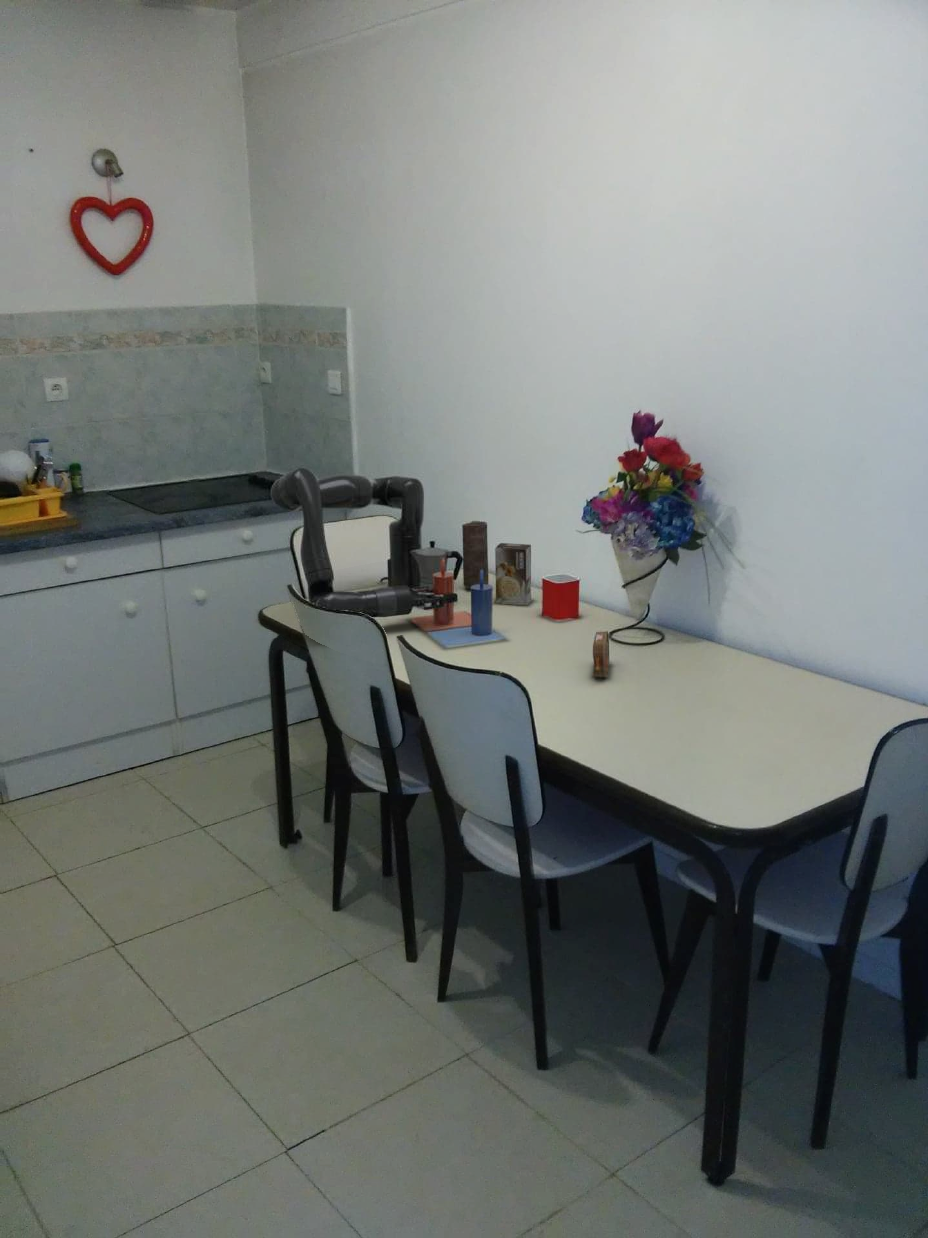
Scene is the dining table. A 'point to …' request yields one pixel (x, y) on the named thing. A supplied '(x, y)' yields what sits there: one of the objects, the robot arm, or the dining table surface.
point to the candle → (475, 553)
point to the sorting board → (453, 630)
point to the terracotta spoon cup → (443, 585)
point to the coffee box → (513, 573)
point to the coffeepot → (434, 562)
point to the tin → (601, 654)
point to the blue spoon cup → (481, 608)
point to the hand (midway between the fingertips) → (452, 594)
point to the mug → (560, 596)
